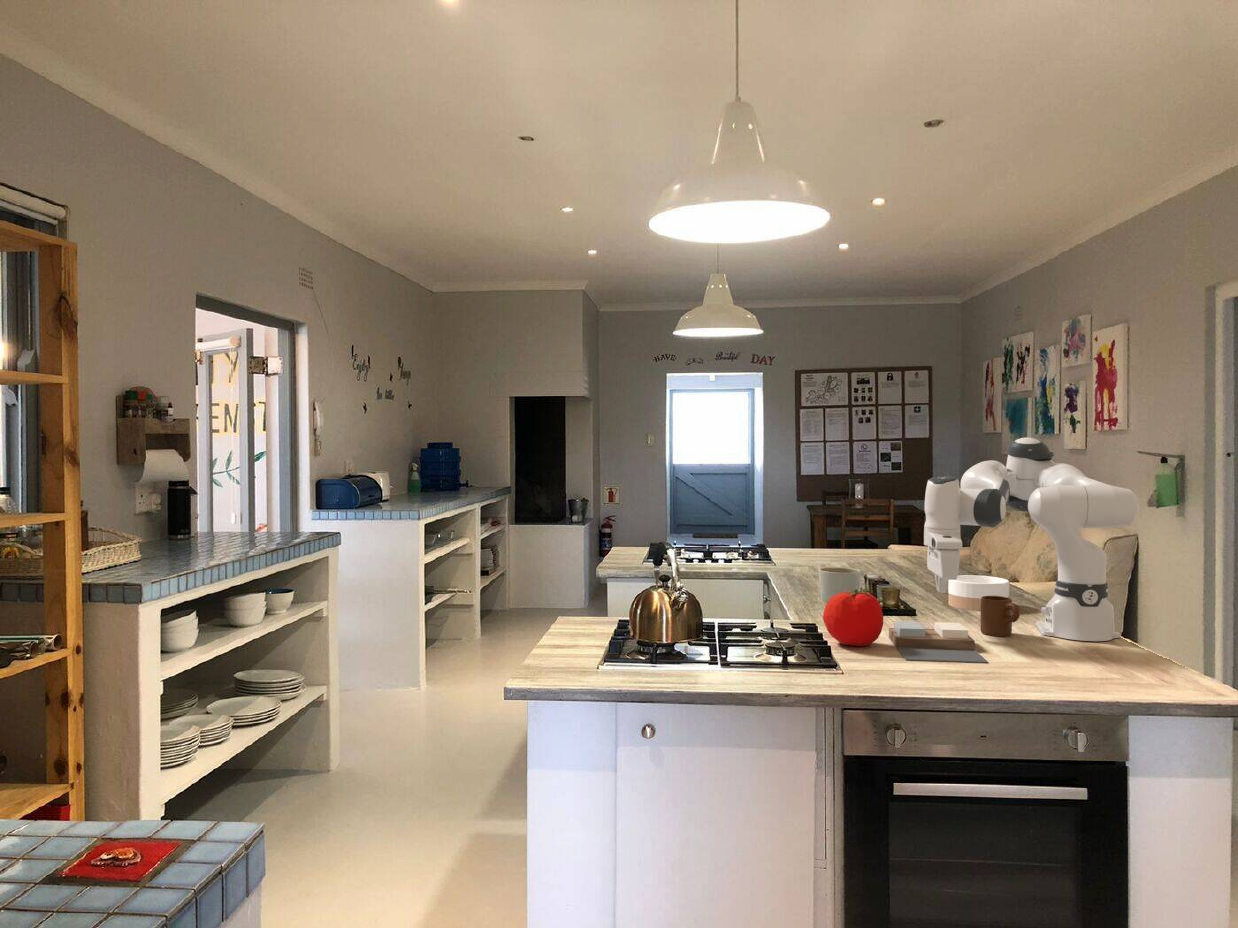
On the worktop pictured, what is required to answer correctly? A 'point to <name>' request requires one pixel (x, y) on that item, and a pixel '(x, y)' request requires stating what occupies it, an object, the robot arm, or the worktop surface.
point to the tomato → (853, 618)
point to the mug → (998, 615)
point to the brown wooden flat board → (931, 641)
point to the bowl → (975, 590)
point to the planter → (838, 581)
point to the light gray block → (909, 629)
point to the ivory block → (950, 630)
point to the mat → (941, 655)
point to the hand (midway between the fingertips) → (941, 592)
